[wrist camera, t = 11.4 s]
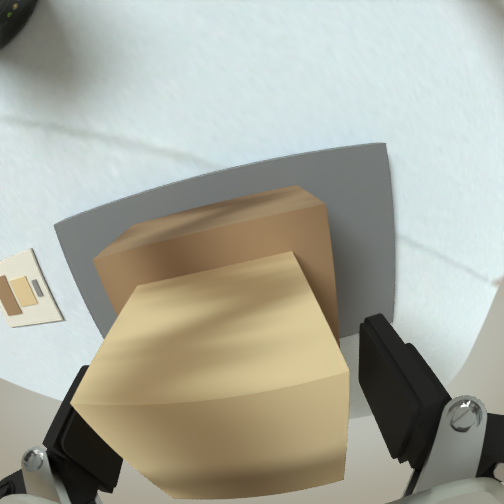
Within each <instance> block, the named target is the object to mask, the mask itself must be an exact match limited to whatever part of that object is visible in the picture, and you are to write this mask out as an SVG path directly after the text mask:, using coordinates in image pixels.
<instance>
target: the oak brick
mask: <svg viewBox="0 0 504 504" xmlns="http://www.w3.org/2000/svg"><path fill="white" fill-rule="evenodd" d="M70 404H71V405H72V406H73V407H74V409H75V410H76V411H77V412H78V413H79V414H80V415H81V417H82V418H83V419H84V420H85V421H86V422H87V423H88V424H89V425H90V426H91V428H92V429H93V430H94V431H95V432H96V433H97V434H98V435H99V436H100V437H101V438H102V439H103V440H104V441H105V442H106V443H107V444H108V445H109V446H110V447H111V448H112V449H113V450H114V451H115V452H117V453H118V454H119V455H120V456H121V457H122V458H123V459H124V460H125V461H127V462H128V463H129V464H130V465H131V466H132V467H134V468H135V469H136V470H137V471H138V472H140V473H141V474H142V475H143V476H144V477H146V478H147V479H148V480H149V481H151V482H152V483H153V484H155V485H156V486H157V487H159V488H160V489H161V490H163V491H164V492H165V493H167V494H168V495H170V496H171V497H172V498H174V499H233V498H234V499H235V498H247V497H258V496H267V495H274V494H281V493H286V492H292V491H298V490H304V489H308V488H312V487H317V486H322V485H326V484H330V483H334V482H337V481H341V480H344V471H345V461H346V450H347V435H348V417H349V369H348V366H347V364H346V362H345V360H344V358H343V355H342V353H341V351H340V349H339V347H338V345H337V342H336V340H335V338H334V336H333V334H332V332H331V330H330V327H329V325H328V323H327V321H326V319H325V317H324V315H323V313H322V311H321V308H320V306H319V304H318V302H317V300H316V298H315V296H314V294H313V292H312V290H311V288H310V286H309V284H308V282H307V280H306V278H305V276H304V274H303V272H302V270H301V268H300V266H299V264H298V262H297V260H296V258H295V256H294V254H293V252H292V251H291V252H286V253H282V254H277V255H273V256H269V257H264V258H260V259H255V260H251V261H247V262H242V263H238V264H233V265H229V266H224V267H220V268H216V269H211V270H207V271H202V272H198V273H193V274H189V275H184V276H180V277H175V278H170V279H166V280H161V281H157V282H152V283H148V284H143V285H138V286H137V287H136V289H135V290H134V292H133V293H132V295H131V296H130V298H129V300H128V301H127V303H126V304H125V306H124V308H123V309H122V311H121V312H120V314H119V316H118V317H117V319H116V321H115V322H114V324H113V326H112V327H111V329H110V331H109V332H108V334H107V336H106V338H105V339H104V341H103V343H102V344H101V346H100V348H99V350H98V351H97V353H96V355H95V357H94V359H93V360H92V362H91V364H90V366H89V368H88V370H87V371H86V373H85V375H84V377H83V379H82V381H81V383H80V385H79V386H78V388H77V390H76V392H75V394H74V396H73V398H72V400H71V402H70Z"/></svg>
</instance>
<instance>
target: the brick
mask: <svg viewBox="0 0 504 504" xmlns="http://www.w3.org/2000/svg"><path fill="white" fill-rule="evenodd" d="M291 251H292V252H293V254H294V256H295V258H296V260H297V262H298V264H299V266H300V268H301V270H302V272H303V274H304V276H305V278H306V280H307V282H308V284H309V286H310V288H311V290H312V292H313V294H314V296H315V298H316V300H317V302H318V304H319V306H320V308H321V311H322V313H323V315H324V317H325V319H326V321H327V323H328V325H329V327H330V330H331V332H332V334H333V336H334V338H335V340H336V342H337V345H338V347H339V349H340V342H339V324H338V309H337V296H336V284H335V274H334V264H333V255H332V246H331V238H330V230H329V223H328V216H327V209H326V204H325V203H324V202H322V201H321V200H319V199H318V198H316V197H315V196H313V195H312V194H310V193H309V192H307V191H306V190H304V189H303V188H301V187H300V186H298V185H294V186H289V187H284V188H279V189H274V190H270V191H265V192H260V193H256V194H251V195H247V196H242V197H238V198H234V199H229V200H225V201H221V202H217V203H213V204H209V205H205V206H201V207H197V208H193V209H189V210H185V211H181V212H177V213H174V214H170V215H166V216H162V217H159V218H155V219H152V220H148V221H145V222H141V223H138V224H134V225H132V226H131V227H130V228H129V229H127V230H126V231H125V232H124V233H122V234H121V235H120V236H119V237H118V238H117V239H115V240H114V241H113V242H112V243H111V244H109V245H108V246H107V247H106V248H105V249H104V250H103V251H101V252H100V253H99V254H98V255H97V256H96V257H95V258H93V259H92V260H93V262H94V265H95V267H96V270H97V272H98V275H99V277H100V279H101V282H102V284H103V286H104V289H105V291H106V293H107V295H108V298H109V300H110V302H111V304H112V306H113V308H114V311H115V313H116V315H117V317H118V316H119V314H120V312H121V311H122V309H123V308H124V306H125V304H126V303H127V301H128V300H129V298H130V296H131V295H132V293H133V292H134V290H135V289H136V287H137V286H138V285H143V284H148V283H152V282H157V281H161V280H166V279H170V278H175V277H180V276H184V275H189V274H193V273H198V272H202V271H207V270H211V269H216V268H220V267H224V266H229V265H233V264H238V263H242V262H247V261H251V260H255V259H260V258H264V257H269V256H273V255H277V254H282V253H286V252H291Z"/></svg>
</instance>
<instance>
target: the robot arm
mask: <svg viewBox="0 0 504 504" xmlns="http://www.w3.org/2000/svg"><path fill="white" fill-rule="evenodd" d="M89 366H90V365H84V366H82V367H81V369H80V370H79V372H78V374H77V376H76V378H75V379H74V381H73V383H72V385H71V387H70V389H69V391H68V392H67V394H66V396H65V398H64V400H63V402H62V404H61V406H60V408H59V410H58V412H57V414H56V416H55V418H54V420H53V422H52V424H51V426H50V428H49V430H48V432H47V434H46V437H45V439H44V441H43V443H42V444H43V445H44V446H45V447H46V448H47V451H45V450H44V449H43V448H42V447H40V446H34V447H31V448H29V449H28V450H27V451H26V452H25V453H24V455H23V457H22V461H21V467H22V469H20V470H19V471H17V472H15V473H13V474H11V475H9V476H7V477H6V478H4V479H2V480H1V481H0V504H103V503H102V501H101V500H100V497H99V495H98V493H97V490H98V489H99V490H100V491H102V492H107V493H112V492H113V489H114V487H116V485H117V482H118V478H119V474H120V470H121V466H122V462H123V458H122V457H121V456H120V455H119V454H118V453H117V452H115V451H114V450H113V449H112V448H111V447H110V446H109V445H108V444H107V443H106V442H105V441H104V440H103V439H102V438H101V437H100V436H99V435H98V434H97V433H96V432H95V431H94V430H93V429H92V428H91V426H90V425H89V424H88V423H87V422H86V421H85V420H84V419H83V418H82V417H81V415H80V414H79V413H78V412H77V411H76V410H75V409H74V407H73V406H72V405H71V404H70V402H71V400H72V398H73V396H74V394H75V392H76V390H77V388H78V386H79V385H80V383H81V381H82V379H83V377H84V375H85V373H86V371H87V370H88V368H89ZM359 383H360V386H361V388H362V390H363V393H364V395H365V397H366V399H367V401H368V404H369V406H370V408H371V410H372V413H373V415H374V417H375V420H376V422H377V424H378V427H379V429H380V431H381V433H382V436H383V438H384V440H385V443H386V445H387V448H388V450H389V453H390V455H391V457H392V458H393V459H395V458H398V461H399V463H400V464H401V463H403V462H405V461H409V464H410V466H411V468H413V472H412V474H411V476H410V479H409V481H408V483H407V486H406V488H405V490H404V492H403V495H402V496H401V499H398V500H395V501H393V502H390V503H386V504H504V486H503V485H502V484H501V482H504V415H498V414H491V413H487V410H486V408H485V405H484V404H483V403H482V402H481V401H480V400H479V399H477V398H476V397H473V396H469V395H465V396H459V397H456V398H454V399H452V398H451V397H450V395H449V394H448V392H447V391H446V390H445V388H444V387H443V385H442V384H441V382H440V381H439V379H438V378H437V377H436V375H435V374H434V372H433V371H432V370H431V368H430V367H429V365H428V364H427V363H426V361H425V360H424V359H423V357H422V356H421V355H420V353H419V352H418V351H417V349H416V348H415V347H414V346H413V345H412V344H411V343H407V344H405V343H404V342H403V341H402V339H401V338H400V337H399V335H398V334H397V333H396V331H395V330H394V329H393V327H392V326H391V325H390V323H389V322H388V321H387V319H386V318H385V317H384V315H383V314H382V313H378V314H375V315H372V316H369V317H366V318H365V319H364V323H361V324H360V327H359Z"/></svg>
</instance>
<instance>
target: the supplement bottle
mask: <svg viewBox="0 0 504 504" xmlns="http://www.w3.org/2000/svg"><path fill="white" fill-rule="evenodd" d="M36 2H37V0H0V48H2V47H3V46H5V45H6V44H7V43H8V42H10V41H11V40H12V39H13V38H14V37H15V35H16V34H17V33H18V32H19V31H20V30H21V28H22V27H23V26H24V24H25V23H26V21H27V20H28V18H29V16H30V15H31V13H32V11H33V9H34V7H35V4H36Z"/></svg>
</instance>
